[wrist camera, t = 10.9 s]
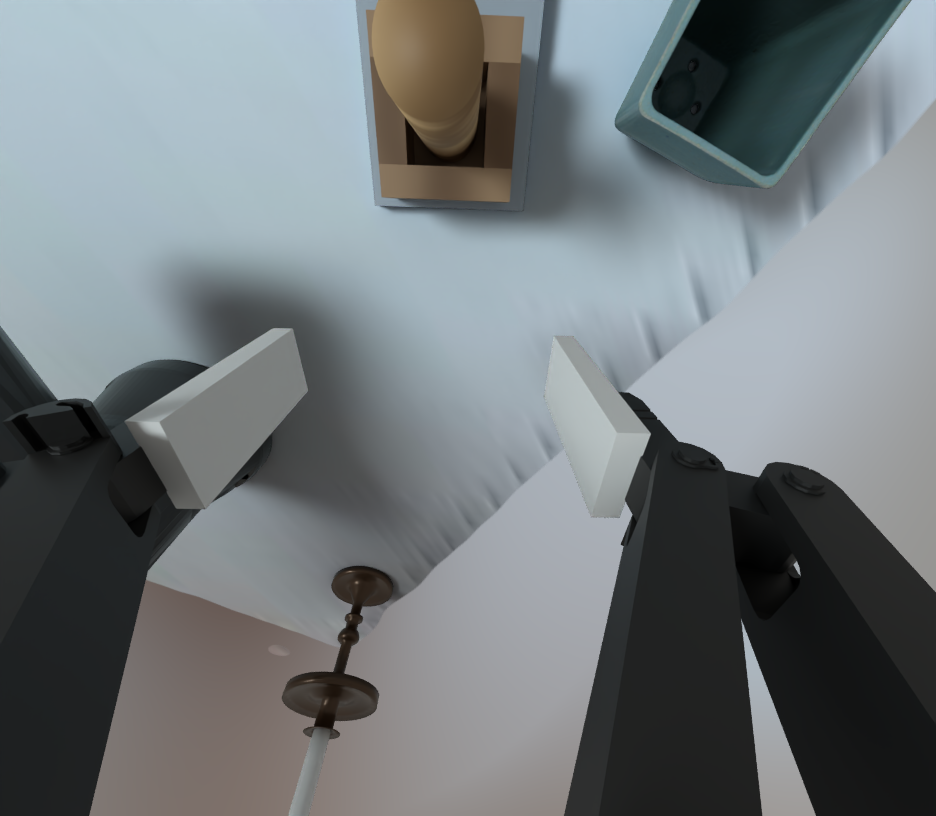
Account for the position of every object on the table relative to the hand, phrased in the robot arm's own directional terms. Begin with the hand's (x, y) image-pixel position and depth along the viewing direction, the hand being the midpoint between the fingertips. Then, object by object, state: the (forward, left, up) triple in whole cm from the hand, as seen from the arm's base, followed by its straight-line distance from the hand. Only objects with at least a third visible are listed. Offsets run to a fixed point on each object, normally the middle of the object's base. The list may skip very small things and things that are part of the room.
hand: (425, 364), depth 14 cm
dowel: (0, +10, -16) cm, 18 cm away
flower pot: (+15, +12, -18) cm, 26 cm away
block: (0, +10, -16) cm, 19 cm away
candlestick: (-13, -45, -18) cm, 50 cm away
